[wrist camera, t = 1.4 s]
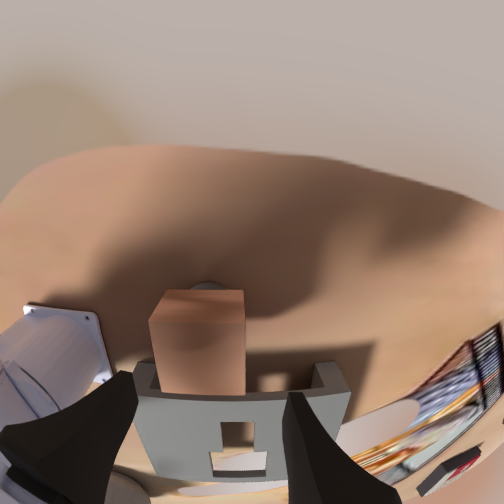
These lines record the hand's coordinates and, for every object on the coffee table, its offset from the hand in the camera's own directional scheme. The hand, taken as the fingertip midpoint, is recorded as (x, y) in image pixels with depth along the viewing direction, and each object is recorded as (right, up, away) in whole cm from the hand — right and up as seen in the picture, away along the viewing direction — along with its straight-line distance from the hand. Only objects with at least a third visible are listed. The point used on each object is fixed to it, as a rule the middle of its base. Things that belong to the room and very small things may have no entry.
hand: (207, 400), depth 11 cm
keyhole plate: (+1, -10, +13) cm, 17 cm away
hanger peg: (-1, +3, +10) cm, 11 cm away
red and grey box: (+49, -44, +25) cm, 71 cm away
